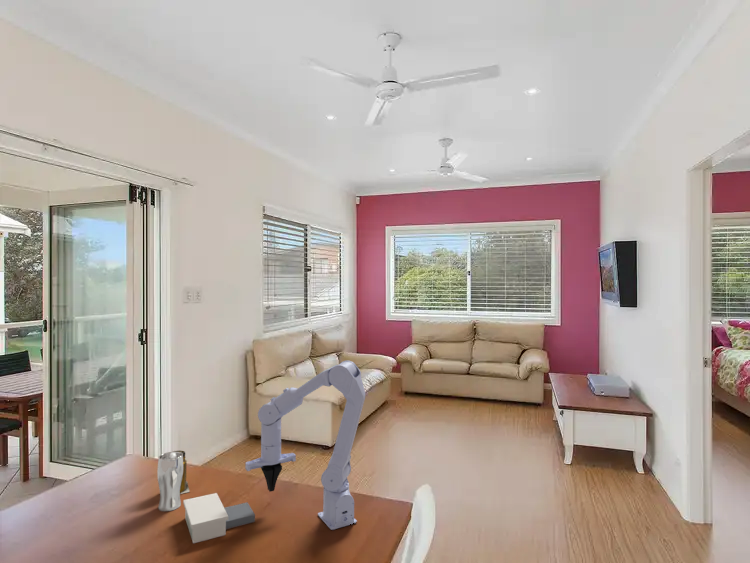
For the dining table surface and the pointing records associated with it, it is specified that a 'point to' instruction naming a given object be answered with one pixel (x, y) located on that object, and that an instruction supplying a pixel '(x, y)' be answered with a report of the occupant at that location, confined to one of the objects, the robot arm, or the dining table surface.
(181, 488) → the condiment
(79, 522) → the dining table surface
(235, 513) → the slate tile
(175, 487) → the beer glass
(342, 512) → the robot arm
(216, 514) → the white rectangular block
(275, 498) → the dining table surface
